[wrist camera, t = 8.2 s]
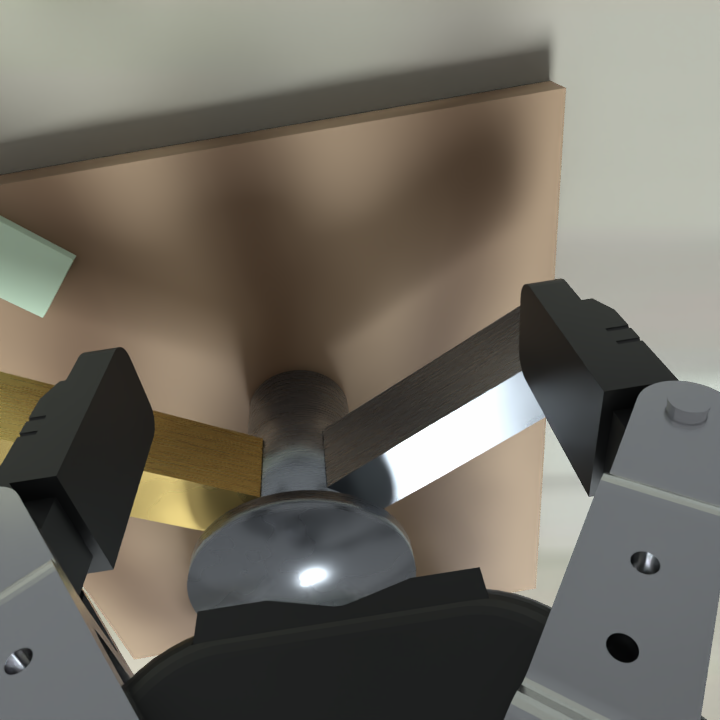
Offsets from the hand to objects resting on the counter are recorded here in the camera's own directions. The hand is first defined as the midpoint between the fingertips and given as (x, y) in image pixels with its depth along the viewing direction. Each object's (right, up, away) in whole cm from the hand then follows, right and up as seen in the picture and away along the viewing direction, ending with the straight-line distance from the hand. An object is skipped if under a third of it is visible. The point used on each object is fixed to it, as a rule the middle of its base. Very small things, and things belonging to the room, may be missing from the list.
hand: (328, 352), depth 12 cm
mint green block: (-10, +3, +6) cm, 12 cm away
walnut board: (-2, -3, +12) cm, 13 cm away
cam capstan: (-3, -2, +9) cm, 10 cm away
